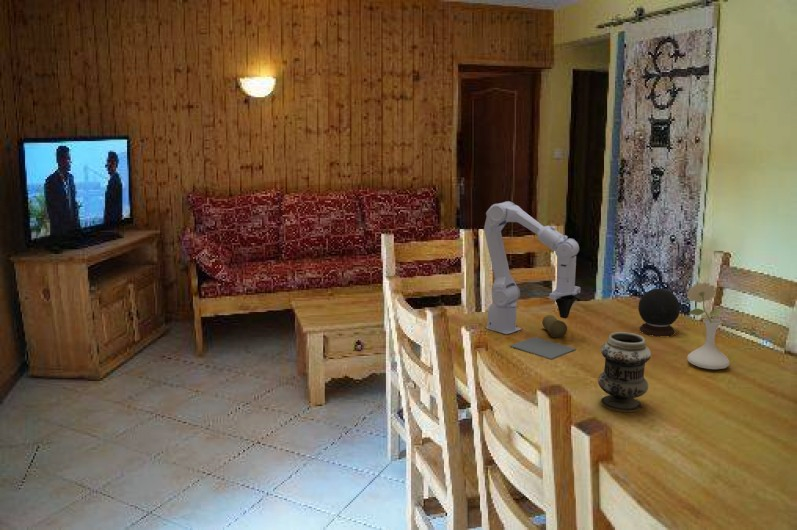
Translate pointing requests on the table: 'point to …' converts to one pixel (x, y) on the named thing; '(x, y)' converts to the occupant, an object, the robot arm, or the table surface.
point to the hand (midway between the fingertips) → (563, 317)
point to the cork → (554, 326)
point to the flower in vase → (707, 331)
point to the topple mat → (542, 348)
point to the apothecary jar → (624, 371)
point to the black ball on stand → (658, 312)
